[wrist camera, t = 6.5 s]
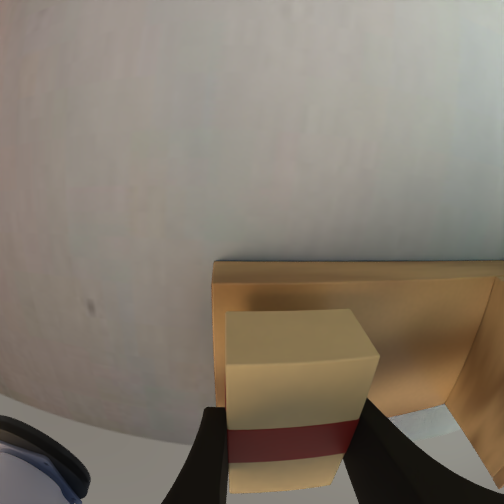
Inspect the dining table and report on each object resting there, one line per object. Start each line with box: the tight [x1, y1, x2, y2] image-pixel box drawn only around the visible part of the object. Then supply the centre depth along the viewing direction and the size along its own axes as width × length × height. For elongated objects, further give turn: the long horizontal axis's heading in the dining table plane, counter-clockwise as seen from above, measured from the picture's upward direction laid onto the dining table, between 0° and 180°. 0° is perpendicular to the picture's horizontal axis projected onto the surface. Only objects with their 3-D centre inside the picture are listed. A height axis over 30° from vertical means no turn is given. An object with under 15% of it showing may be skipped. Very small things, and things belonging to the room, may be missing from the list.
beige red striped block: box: [225, 309, 380, 493], centre depth 10 cm, size 7×4×3 cm, turn 178°
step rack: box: [211, 260, 504, 489], centre depth 11 cm, size 8×24×9 cm, turn 88°
